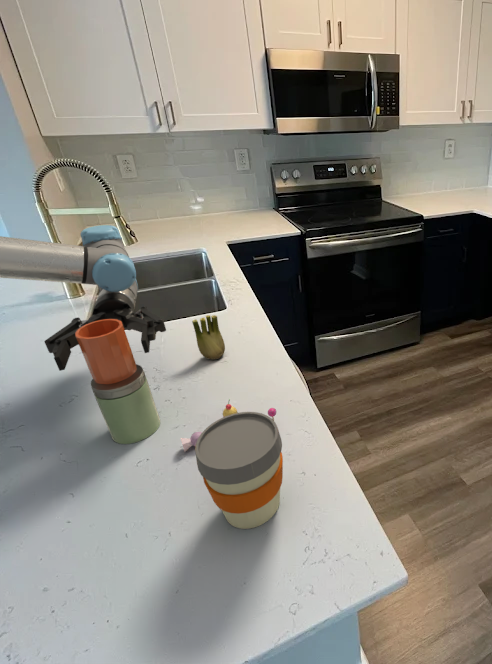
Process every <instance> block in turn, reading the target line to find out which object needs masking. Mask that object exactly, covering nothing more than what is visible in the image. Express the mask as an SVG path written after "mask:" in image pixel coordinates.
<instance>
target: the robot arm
mask: <svg viewBox="0 0 492 664" xmlns="http://www.w3.org/2000/svg"><path fill="white" fill-rule="evenodd" d="M120 233H121V232H120V231H119V229H118V227H117V226H115V225H111V224H101V225H95V226H90V227H86V228H84V229H82V230H81V231H80V238H81V241H82V242H81V243H82V245H77V244H76V245H75V244H69V243H68V244H67V243H61V242H51V241H42V240H35V239H28V238H27V239H25V238H20V237H19V238H17V237H9V236H2V235H0V279H13V280H23V281H24V280H26V281H40V282H41V281H42V282H54V283H66V284H81V285H92V286H97V288H98V290H99V292H98V294H97V297H96V300H95V303H94V306H93V308H92V316H90V317H89V318H88V319H83V320H81V318H80V317H74V318H72V320H71V321H70V322H69V323H67V325H65V326H64V327H62V328H60V330H58V331H56V332H55V333H54V334H52V335H51V336H49V337H47V338H46V339H45V340H44V344H45V347H46V349H47V351H48V353H49V354H53V359H54V361H55V364H56V366H57V368H58V371H61V372H62V371H65V370H66V367H67V365H68V362H69V360H70V357H71V354H72V350H71V349H73V348H75V347H76V346H78V345H79V343H78V341H77V338H76V336H75V332H76V331H77V330H78V329H79V328H81V327H82V326H84V325H86V324H89V323H91V322H94V321H98V320H104V319H117V320H120V321H121V322H122V324H123V327H124V330H125V331H132V330H133V331H134V332H135V331H136V332H139V333H141V336H140V342H141V346H142V349H143V352H144V354H149V353H150V347H151V341H152V342H153V341H155V340H156V337H157V333H158V332H160V333H165V332H166V331H167V328H166V324H165V320H164V319H163V318H161V317H160V316H158V315H157V314H156V313H153V312H152V311H150V310H148V306H145V305H144V306H141V307H140V309H139V310H138V311H135V309H136V302H137V296H138V294H139V292H138V291H139V285H138V281H137V280H138V279H137V271H136V267H135V263H134V261H133V260H132V259H131V257H130V256H129V253H128V252H127V249H126V248H125V245H124V241H123V237H122V235H121V234H120Z"/></svg>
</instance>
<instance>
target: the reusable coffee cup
mask: <svg viewBox="0 0 492 664" xmlns="http://www.w3.org/2000/svg"><path fill="white" fill-rule="evenodd" d="M201 432H202V433H201V435H200V436H199V438H198V440H197V443H196V447H195V446H194V447H195V449H194V451H195V460H196V466H197V470H198V472H199V473H200V476H202V479H203V483H204V485H205V488H206V489H207V491H208V493H209V495H210V497H211V499H212V500H213V502H214V504H215V506H216V507H218V509H220V510H221V512H222V513H223V515H224V517H225V519H226V521H227V522H228V523H229V524H230V525H231V526H232V527H234V528H236V529H240V530H249V529H254V528H257V527H260V526H262V525H264V524H265V523H267V522H268V521H270V520H271V519H272V518H273V517H274V516H275V514H276V513H277V511H278V510H279V506H280V501H281V487H282V484H283V477H284V475H283V473H284V472H283V471H284V470H283V467H284V466H283V463H284V462H283V461H284V459H283V453H282V448H283V441H282V437H281V434H280V431H279V427H278V425H277V423H276V421H275V420H274V421H273V419H272V417H271V416H269V415H268V414H265V413H262V412H257V411H241V412H237V413H235V414H231V415H228V416H225V417H223V416H222V417H221V418H219V419H217V420H215V421H214V422H212V423H211V424H209V425H208V426H207V427H206V428H205V429H204V430H202V431H201Z"/></svg>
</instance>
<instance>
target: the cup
mask: <svg viewBox="0 0 492 664" xmlns="http://www.w3.org/2000/svg"><path fill="white" fill-rule="evenodd" d="M75 336H76V338H77V341H78V343H79V344H78V345H79V349H80V352H81V353H82V356H83V358H84V360H85V364H86V366H87V368H88V371H89V373H90V376H91V378H92V379H93V380H94V381H95V382H96V383H98V384H113V383H117V382H120V381H122V380H125V379H127V378H129V377H130V376H131V375H133V374H134V373H135V372H136V370H137V366H136V364H137V363H136V360H135V357H134V353H133V351H132V349H131V345H130V342H129V339H128V337H127V333H126V329H124V327H123V324H122V322H121V321H120V320H117V319H104V320H98V321H94V322H91V323H89V324H86V325H84V326H82V327H81V328H79V329H78V330H77V331H76V332H75Z"/></svg>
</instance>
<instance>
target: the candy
mask: <svg viewBox="0 0 492 664" xmlns="http://www.w3.org/2000/svg"><path fill="white" fill-rule="evenodd" d="M230 400H231V399H230V398H228V403H227V404H226V405H225V408H224V409H223V410H222V418H223V417H225V416H228V415H231V414H235V413H238V410H237V408H236V407H234V406H233V405H232V404H231V403H230ZM276 415H277V410H276V408H274V407H270V408H268V410H267V416H269V417H270V418H272V419H273V421H274V422H275V416H276ZM202 432H203V431H196V432H195V431H194V432H193V433H192V434H191V436H190V438H187V437H180V441H181V444H182V448H183V451H184V452H186V451H188V450H189V449H190V448H191V447H192V446H193V447H196V443H197V440H198V438H199V436H200V435H201V433H202Z"/></svg>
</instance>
